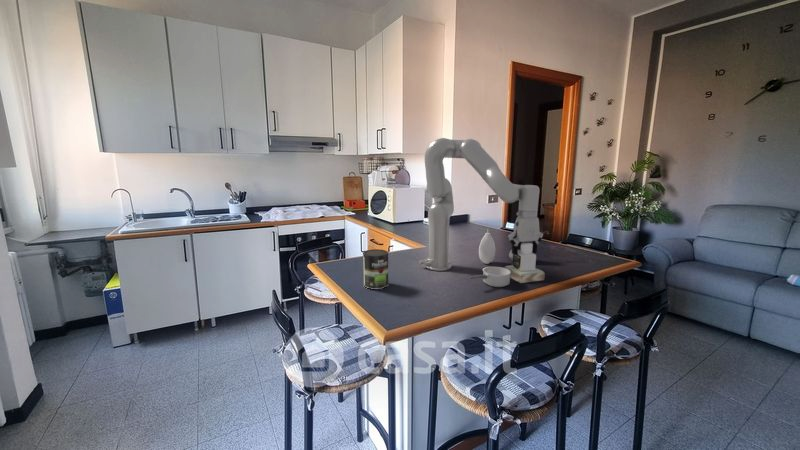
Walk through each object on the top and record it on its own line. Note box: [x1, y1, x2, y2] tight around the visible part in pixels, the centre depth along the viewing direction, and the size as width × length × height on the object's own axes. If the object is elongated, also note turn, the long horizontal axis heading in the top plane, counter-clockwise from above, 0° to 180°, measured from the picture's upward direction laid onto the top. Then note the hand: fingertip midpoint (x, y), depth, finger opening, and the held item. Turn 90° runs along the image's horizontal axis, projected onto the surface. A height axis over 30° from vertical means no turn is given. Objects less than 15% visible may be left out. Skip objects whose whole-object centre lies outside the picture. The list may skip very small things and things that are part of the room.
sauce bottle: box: [478, 230, 496, 265], centre depth 164 cm, size 8×8×18 cm
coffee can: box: [362, 248, 389, 289], centre depth 136 cm, size 10×10×14 cm
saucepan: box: [469, 266, 511, 288], centre depth 136 cm, size 12×20×6 cm, turn 120°
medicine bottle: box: [511, 241, 537, 271], centre depth 144 cm, size 7×7×12 cm
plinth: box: [503, 264, 546, 284], centre depth 146 cm, size 12×12×4 cm
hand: (524, 253), depth 144 cm, fingers open, 9 cm apart
